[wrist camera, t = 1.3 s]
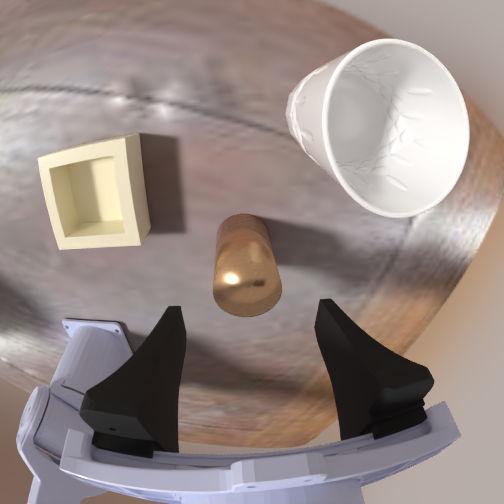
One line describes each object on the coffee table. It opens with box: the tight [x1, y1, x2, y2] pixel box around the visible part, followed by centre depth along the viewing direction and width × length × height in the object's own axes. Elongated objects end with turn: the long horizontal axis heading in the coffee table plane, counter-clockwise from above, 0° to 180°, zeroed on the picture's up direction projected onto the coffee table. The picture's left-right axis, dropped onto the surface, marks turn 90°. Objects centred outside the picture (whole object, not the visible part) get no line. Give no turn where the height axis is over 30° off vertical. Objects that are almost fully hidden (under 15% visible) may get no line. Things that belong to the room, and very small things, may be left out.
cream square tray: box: [38, 133, 151, 250], centre depth 17 cm, size 8×8×3 cm
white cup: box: [285, 39, 469, 218], centre depth 13 cm, size 8×8×10 cm
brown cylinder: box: [213, 214, 282, 317], centre depth 19 cm, size 4×4×7 cm
